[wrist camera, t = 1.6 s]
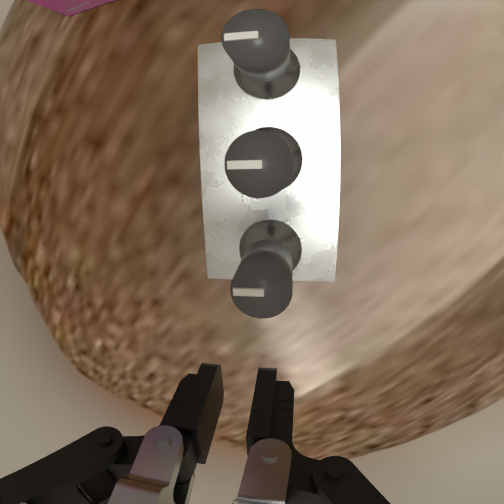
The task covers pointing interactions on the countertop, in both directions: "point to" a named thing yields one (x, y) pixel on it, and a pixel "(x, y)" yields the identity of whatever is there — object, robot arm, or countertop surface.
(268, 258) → the knob
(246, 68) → the knob
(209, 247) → the mount plate
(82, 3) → the gum box
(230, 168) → the knob mid
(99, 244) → the countertop surface
